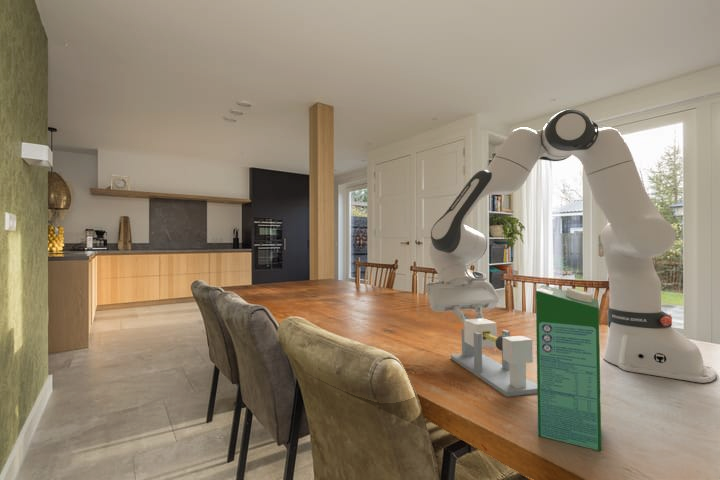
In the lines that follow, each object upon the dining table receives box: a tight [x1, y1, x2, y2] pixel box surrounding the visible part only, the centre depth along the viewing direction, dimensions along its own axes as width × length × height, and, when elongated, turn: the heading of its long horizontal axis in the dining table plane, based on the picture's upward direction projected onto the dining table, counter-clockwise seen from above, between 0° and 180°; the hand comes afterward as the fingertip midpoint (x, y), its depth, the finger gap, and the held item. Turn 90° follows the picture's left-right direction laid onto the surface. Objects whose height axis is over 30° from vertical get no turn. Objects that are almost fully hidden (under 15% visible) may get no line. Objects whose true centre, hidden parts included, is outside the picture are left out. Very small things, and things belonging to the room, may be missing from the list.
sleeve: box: [463, 317, 498, 349], centre depth 96 cm, size 6×6×6 cm
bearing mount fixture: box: [450, 328, 537, 398], centre depth 92 cm, size 26×9×12 cm, turn 12°
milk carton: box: [535, 284, 602, 452], centre depth 64 cm, size 9×9×25 cm
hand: (473, 321), depth 100 cm, fingers open, 3 cm apart
